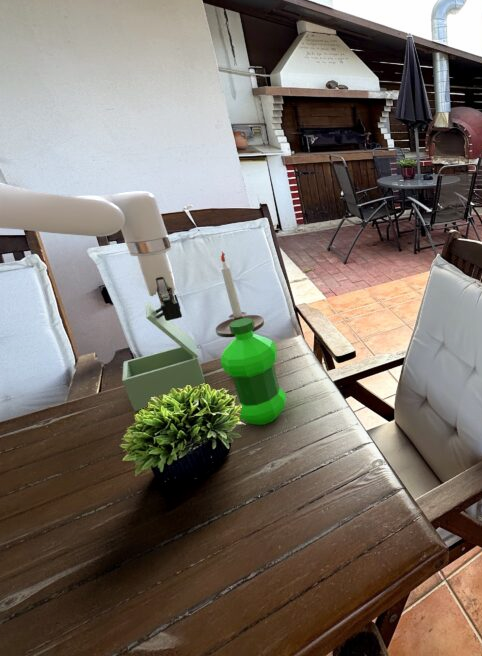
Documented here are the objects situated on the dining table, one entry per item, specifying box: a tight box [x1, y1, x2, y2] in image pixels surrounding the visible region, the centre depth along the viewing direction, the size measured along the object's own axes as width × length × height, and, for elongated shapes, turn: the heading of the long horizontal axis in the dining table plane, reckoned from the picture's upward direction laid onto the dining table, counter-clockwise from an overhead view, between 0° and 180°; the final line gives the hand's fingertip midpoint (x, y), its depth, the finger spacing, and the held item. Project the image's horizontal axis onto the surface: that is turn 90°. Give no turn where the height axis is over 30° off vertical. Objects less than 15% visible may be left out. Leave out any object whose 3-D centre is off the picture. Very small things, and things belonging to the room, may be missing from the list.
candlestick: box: [215, 251, 265, 338], centre depth 106 cm, size 11×11×35 cm
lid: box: [145, 301, 199, 358], centre depth 101 cm, size 15×11×5 cm
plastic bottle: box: [219, 318, 287, 426], centre depth 89 cm, size 10×10×25 cm
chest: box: [121, 345, 206, 412], centre depth 102 cm, size 14×11×9 cm
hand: (173, 314), depth 100 cm, fingers closed on lid, 5 cm apart
